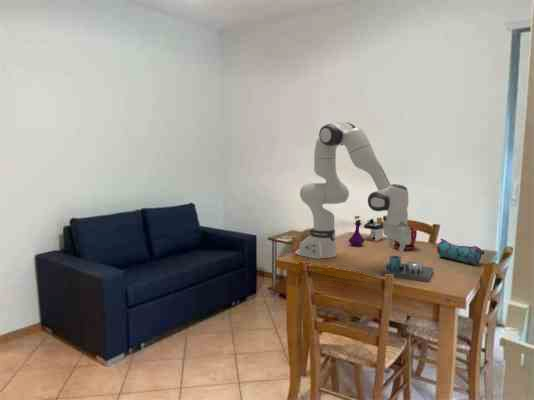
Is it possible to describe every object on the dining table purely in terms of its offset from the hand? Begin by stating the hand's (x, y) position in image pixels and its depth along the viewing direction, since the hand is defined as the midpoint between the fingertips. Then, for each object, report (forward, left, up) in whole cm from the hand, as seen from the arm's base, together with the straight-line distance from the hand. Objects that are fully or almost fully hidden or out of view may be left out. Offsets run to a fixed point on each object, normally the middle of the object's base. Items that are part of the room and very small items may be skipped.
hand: (396, 249), depth 183 cm
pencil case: (+24, +34, -11) cm, 43 cm away
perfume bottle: (-31, +41, -11) cm, 53 cm away
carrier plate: (+6, -1, -11) cm, 12 cm away
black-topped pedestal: (-27, +62, -11) cm, 68 cm away
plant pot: (-5, +47, -11) cm, 48 cm away
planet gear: (0, -1, -9) cm, 9 cm away
